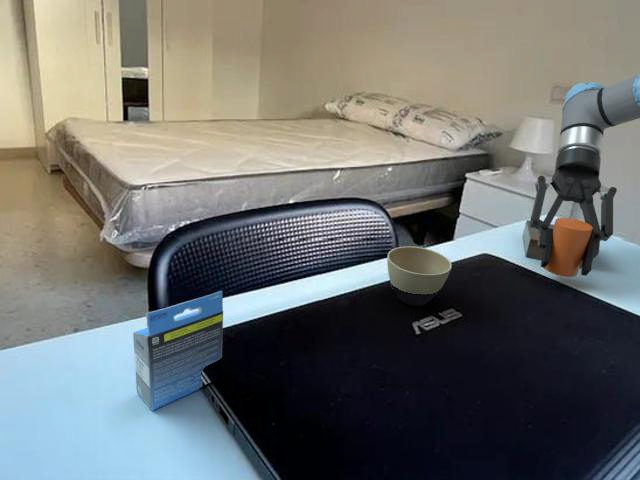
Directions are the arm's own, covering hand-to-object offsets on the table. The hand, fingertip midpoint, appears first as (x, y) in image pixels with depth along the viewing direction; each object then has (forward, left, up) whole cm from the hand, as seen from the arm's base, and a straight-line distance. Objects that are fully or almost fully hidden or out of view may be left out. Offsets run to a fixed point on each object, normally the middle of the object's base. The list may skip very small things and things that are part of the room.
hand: (565, 268), depth 87 cm
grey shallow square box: (-1, -19, -4) cm, 19 cm away
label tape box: (+46, +48, -4) cm, 67 cm away
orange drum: (0, -4, -2) cm, 4 cm away
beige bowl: (+24, +15, -4) cm, 29 cm away
